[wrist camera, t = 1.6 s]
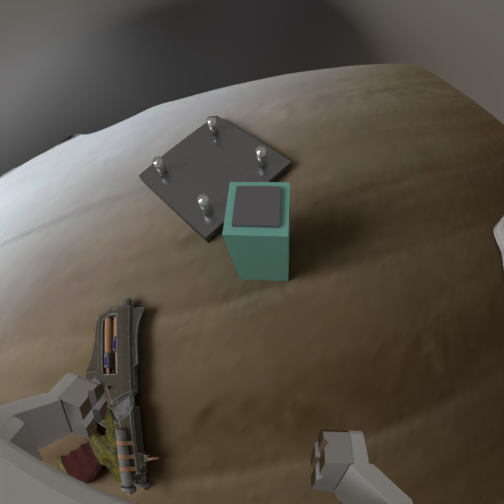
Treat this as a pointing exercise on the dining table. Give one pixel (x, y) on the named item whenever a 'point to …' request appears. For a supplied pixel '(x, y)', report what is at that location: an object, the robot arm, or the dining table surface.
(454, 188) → the dining table surface
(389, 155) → the dining table surface
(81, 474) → the firearm
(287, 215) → the block
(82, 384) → the robot arm
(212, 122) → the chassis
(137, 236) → the dining table surface
